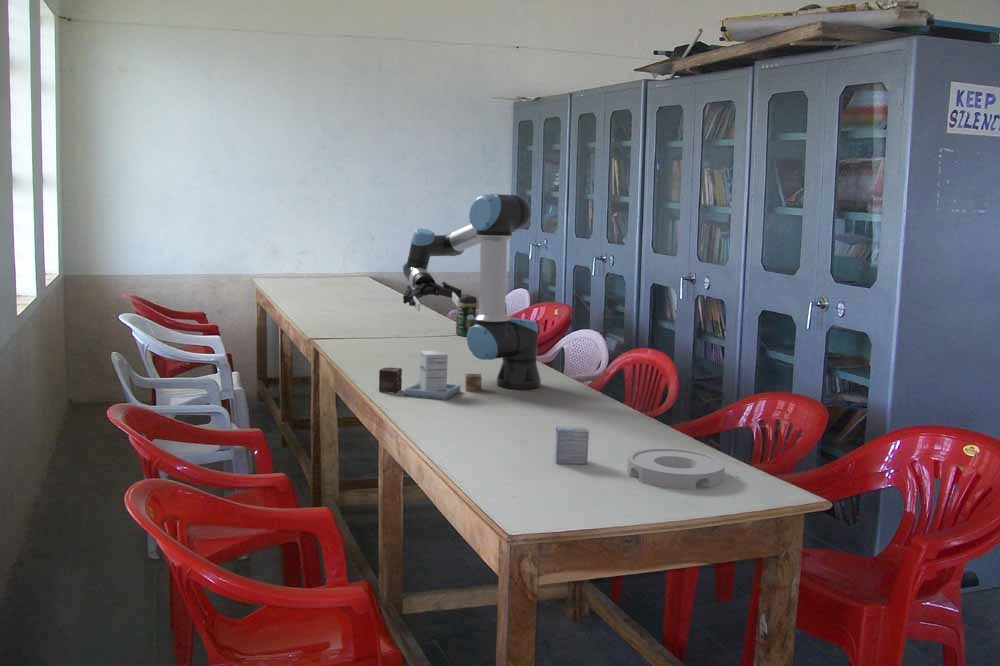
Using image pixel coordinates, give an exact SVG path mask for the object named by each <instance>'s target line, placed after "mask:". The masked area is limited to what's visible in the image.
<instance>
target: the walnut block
mask: <svg viewBox="0 0 1000 666" xmlns="http://www.w3.org/2000/svg"><path fill="white" fill-rule="evenodd" d="M482 378H483V377H482V374H481V373H465V385H464V386H465V387H464V388H466V389H465V392H482V381H483V379H482Z"/></svg>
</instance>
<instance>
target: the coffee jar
mask: <svg viewBox="0 0 1000 666" xmlns="http://www.w3.org/2000/svg"><path fill="white" fill-rule="evenodd" d="M477 305H478V302H477V297H475V296H473V295H471V294H467V293H465V294H462V293H461V297H460V307H457V306H456V325H455V327H456V328H455V334H456V335H458V336H462V337H467V333H468V331H469V330H470V328H471V327H472V326H474V323H475V317H476V316H477Z"/></svg>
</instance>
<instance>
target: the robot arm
mask: <svg viewBox="0 0 1000 666" xmlns="http://www.w3.org/2000/svg"><path fill="white" fill-rule="evenodd" d="M470 205H471V206H470V208H469V213H468V218H469V223H470V224H468V225H465V226H463V227H461V228H458V229H456V230H454V231H453V232H450V233H448V234H443V235H441V234H440V235H437V234H435V232H434V231H432V230H430V229H427V228H423V227H421V228H420V227H419V228H416V229H415V230H414V232H413V233H412V234H413V235H412V238H411V243H410V248H409V253H408V257H407V259H406V260H405V261H404V262H403V264H402V272H403V275H404V276H405V278H406V279H407V281H408V282H409V283H410V285H407V286H406V291H405V293H404V294H403V298H402V299H403V300H402V301H403V304H409V305H408V306H410V307H414V308H415V309H416V311H417V312H421V303H420V301H419V300H418V299H419V298H423V296H424V297H425V296H429V295H431V296H443V297H446V298H450V299H451V300H452V302H453V303H454V305H455V306H456V308H457V307H460V297H461V294H462V289H460V288H457V287H455V286H452V285H450V284H448V283H447V282H445V281H443V282H441V284H438V283H436V280H435V278H433V276H432V275H431V273H430V272H429V271H428V267H429V262H430V259H431V257H455V256H461V255H462V254H464V252H465V251H466V250H467V249H470V248H472V247H474V246H476V245H479V244H480V259H479V260H480V261H479V262H480V266H479V267H480V270H479V305H478V307H479V308H478V309H479V310H478V311H479V312H478V314H476V317H475V323H474V326H472V327H471V328H470V330H469V331H468V333H467V336H466V342H467V347H468V349H469V351H470V352H471V353H472V355H473V356H474V357H475V358H477V359H478V360H482V361H483V360H485V361H486V360H490V361H492V360H495V359H502V363H501V365H500V369H499V371H498V374H497V376H496V385H497V386H498V387H501V388H505V389H513V390H533V389H537V388H540V387H541V386H542V385H541V383H542V382H541V381H542V380H541V379H542V378H541V376H540V372H539V369H538V365H537V357H538V355H537V354H538V344H539V343H538V340H539V338H538V337H539V325H538V322H537V321H535V320H531V319H524V318H518V317H508V315H506V314H507V313H506V300H507V299H506V298H507V297H506V292H507V290H506V287H507V253H508V252H507V251H508V249H507V248H508V241H509V239H511V238H512V236H513V233H514V232H516V231H519V230H522V229H524V228H525V227H526V226H527V225H528V224H529V223H530V220H531V217H532V208H531V206H530V203H529V202H528V201H527V199H526V198H524V197H522V196H520V195H517V194H502V193H501V194H500V193H499V194H497V193H488V194H481V195H479V196H477V197H476V198H475V200H474V201H472V203H471V204H470Z"/></svg>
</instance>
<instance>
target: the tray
mask: <svg viewBox="0 0 1000 666" xmlns="http://www.w3.org/2000/svg"><path fill="white" fill-rule="evenodd" d="M458 392H459V393H460V392H461V385H460V384H453V383H447V390H446V392H437V391H426V390H422V389H420V381H417V382H416V383H414V384H412V385H410V386H408V387H406V388H405V389H404V396H405V395H408V396H407V397H411V396H417V397H416V398H421V397H427V398H426V399H431V398H437V399H436V400H441V399H446V400H445V401H447V400H449V399H450V397H451V396H452V397H454V396H455V395H457V394H458ZM456 393H457V394H456ZM453 395H454V396H453ZM452 397H451V398H452ZM448 398H449V399H448Z"/></svg>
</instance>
